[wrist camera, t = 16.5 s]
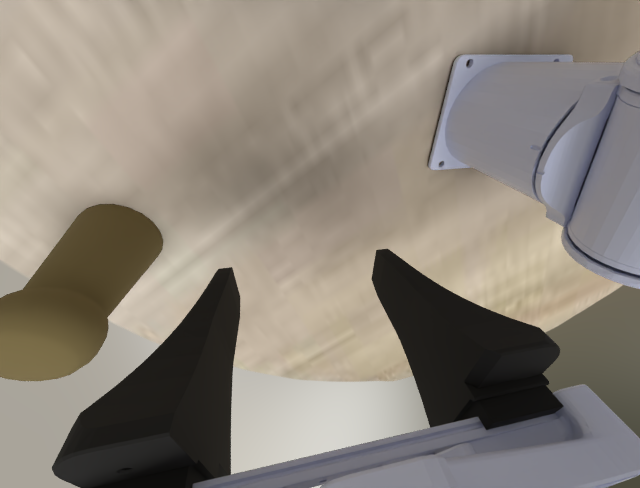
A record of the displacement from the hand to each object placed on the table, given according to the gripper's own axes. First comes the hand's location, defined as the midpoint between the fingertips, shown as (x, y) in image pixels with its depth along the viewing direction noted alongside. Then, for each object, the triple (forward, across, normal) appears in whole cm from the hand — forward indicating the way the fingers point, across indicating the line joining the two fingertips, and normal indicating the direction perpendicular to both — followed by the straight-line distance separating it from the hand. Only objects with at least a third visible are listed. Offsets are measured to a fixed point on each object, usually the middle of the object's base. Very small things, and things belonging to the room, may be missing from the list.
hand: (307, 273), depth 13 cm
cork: (+11, +14, +3) cm, 18 cm away
